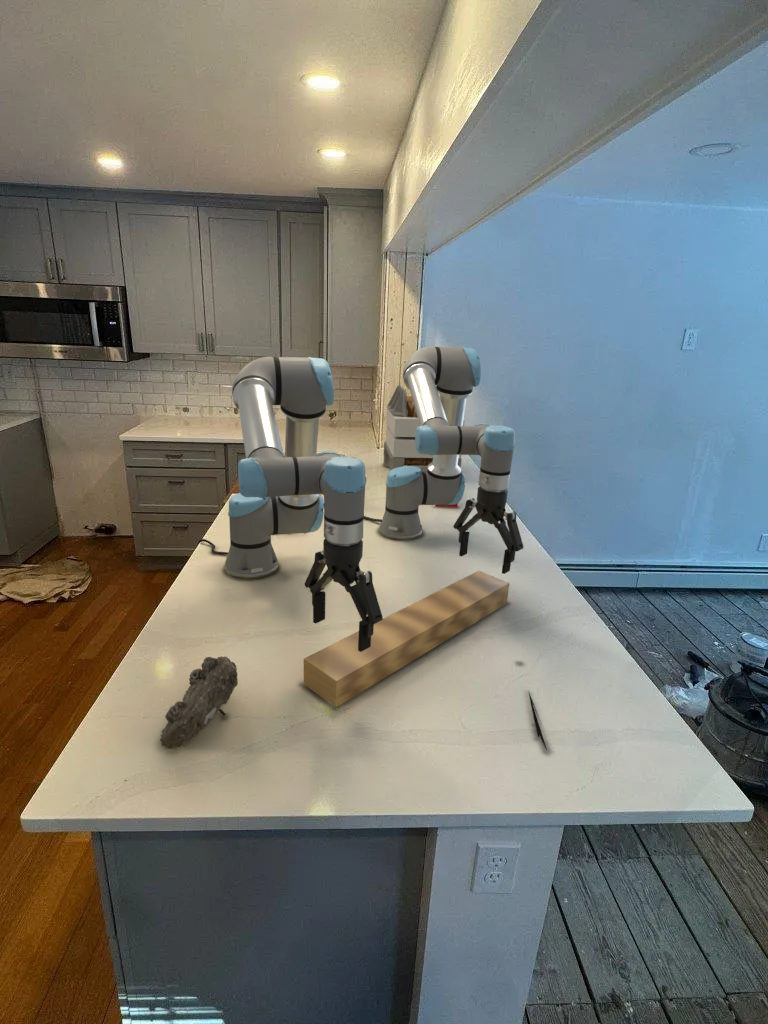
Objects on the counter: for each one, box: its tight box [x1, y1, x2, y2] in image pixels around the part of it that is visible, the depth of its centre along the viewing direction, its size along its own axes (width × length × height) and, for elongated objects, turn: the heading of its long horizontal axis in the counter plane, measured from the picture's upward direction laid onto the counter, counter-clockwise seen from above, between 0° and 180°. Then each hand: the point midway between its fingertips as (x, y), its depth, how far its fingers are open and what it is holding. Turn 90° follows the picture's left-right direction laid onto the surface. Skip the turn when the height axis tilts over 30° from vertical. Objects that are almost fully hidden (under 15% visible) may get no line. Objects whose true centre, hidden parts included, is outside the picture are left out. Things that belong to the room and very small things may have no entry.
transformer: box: [383, 384, 465, 471], centre depth 268 cm, size 34×33×41 cm
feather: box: [528, 689, 548, 751], centre depth 116 cm, size 2×28×2 cm
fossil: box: [160, 656, 239, 749], centre depth 107 cm, size 22×10×15 cm
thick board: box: [303, 570, 510, 708], centre depth 136 cm, size 63×10×6 cm, turn 136°
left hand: (340, 634), depth 115 cm, fingers open, 13 cm apart
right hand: (483, 563), depth 151 cm, fingers open, 13 cm apart
